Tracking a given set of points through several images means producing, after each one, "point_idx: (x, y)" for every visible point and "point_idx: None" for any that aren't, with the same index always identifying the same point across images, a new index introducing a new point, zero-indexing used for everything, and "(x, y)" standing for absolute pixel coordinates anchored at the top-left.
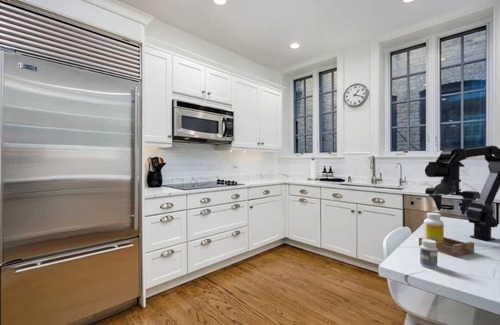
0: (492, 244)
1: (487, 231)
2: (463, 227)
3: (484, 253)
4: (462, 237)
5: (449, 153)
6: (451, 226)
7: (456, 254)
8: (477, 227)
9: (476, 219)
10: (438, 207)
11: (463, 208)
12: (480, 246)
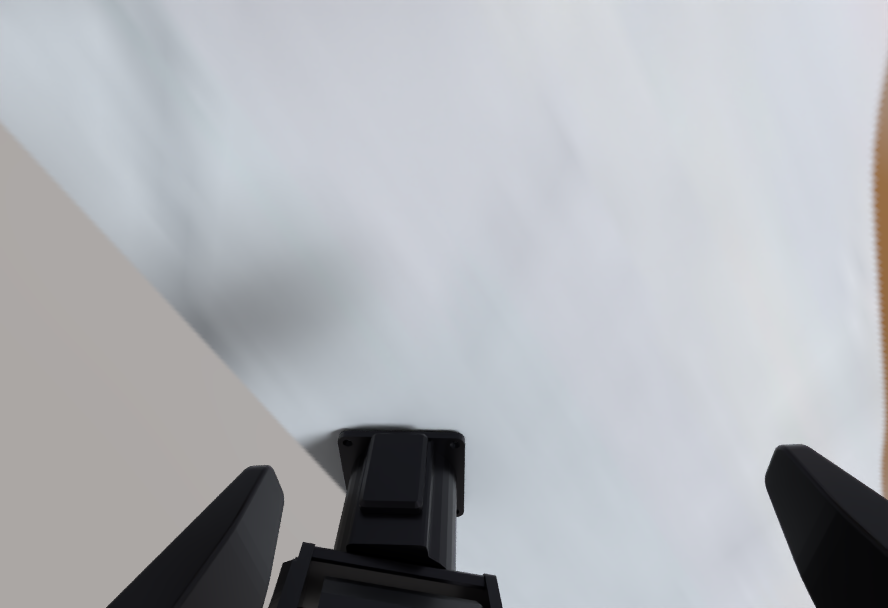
0: (270, 391)
1: (342, 518)
2: (634, 600)
3: (21, 39)
4: (484, 379)
5: None
6: (701, 571)
7: None
8: (396, 520)
9: (372, 594)
10: (847, 506)
11: (136, 603)
12: (237, 252)
